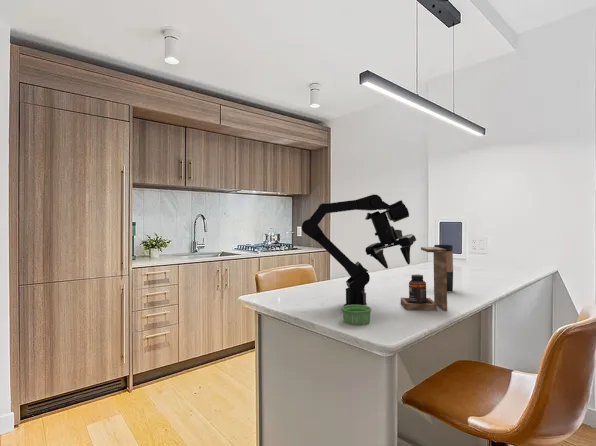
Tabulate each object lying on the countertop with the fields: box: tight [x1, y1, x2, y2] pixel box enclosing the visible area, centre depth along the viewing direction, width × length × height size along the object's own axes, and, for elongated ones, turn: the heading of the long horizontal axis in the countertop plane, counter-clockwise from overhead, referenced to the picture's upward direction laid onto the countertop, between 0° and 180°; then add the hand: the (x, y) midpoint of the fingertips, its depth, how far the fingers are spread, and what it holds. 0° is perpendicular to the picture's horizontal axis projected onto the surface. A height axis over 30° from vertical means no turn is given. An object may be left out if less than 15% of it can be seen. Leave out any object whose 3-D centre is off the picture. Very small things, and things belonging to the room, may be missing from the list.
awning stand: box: [400, 246, 448, 312], centre depth 126 cm, size 14×11×21 cm
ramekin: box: [341, 305, 372, 326], centre depth 108 cm, size 9×9×4 cm
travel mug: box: [433, 244, 454, 293], centre depth 154 cm, size 8×8×20 cm
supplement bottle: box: [408, 274, 427, 304], centre depth 126 cm, size 6×6×11 cm
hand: (397, 266), depth 129 cm, fingers open, 9 cm apart
